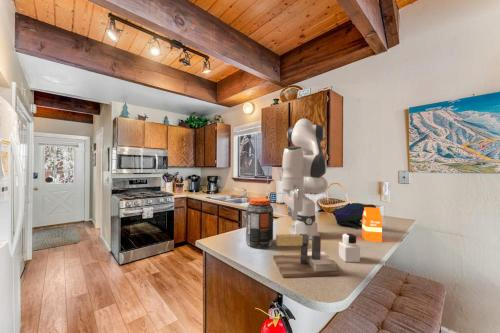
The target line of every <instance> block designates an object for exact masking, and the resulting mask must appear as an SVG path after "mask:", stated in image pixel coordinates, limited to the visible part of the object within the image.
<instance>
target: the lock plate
mask: <svg viewBox="0 0 500 333" xmlns="http://www.w3.org/2000/svg"><path fill="white" fill-rule="evenodd" d="M321 238H322V237H321V235H320V236H319V235H312V239H311V248H309V247H308V246H309V245H308V246H303V245H300V254H281V255H280V254H278V255H273V257H272V258H273V261H274V262H275V264H276V267H277V269H278V271H279V273H280V275H281V277H282V278H286V279H287V278H308V277H311V278H312V277H313V278H314V277H331V276H332V277H333V276H339V277H340V275H341V274H340V271H339V270H338V262H336V261H335V260H334V259H333V258H331V256H329V255H328V254H327V253H326V252H325V251H324V250H323V249H321V242H322V241H321Z"/></svg>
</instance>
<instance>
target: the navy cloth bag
mask: <svg viewBox="0 0 500 333" xmlns="http://www.w3.org/2000/svg"><path fill="white" fill-rule="evenodd" d="M365 207H370V208H377V206H376V205H374V204H373V203H372V204H363V203H359V202H352V203H350V202H348V203H347V204H345V205H344V206H342V207H339V208H336V209H334V210H332V215H333V216H334V218H335V222H336V224H337V225H346V226H350V227H352V228H355V229H356V230H359V228H362V224H363V212H364V208H365Z"/></svg>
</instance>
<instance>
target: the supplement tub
mask: <svg viewBox="0 0 500 333" xmlns="http://www.w3.org/2000/svg"><path fill="white" fill-rule="evenodd" d="M271 201H272V200H271V199H270V198H267V197H253V198H252V197H251V198H249V199H248V205H247V206H246V208H245V243H246V245H247V246H249V247H251V248H255V249H265V248H269V247H271V246H272V245H273V243H274V208H273V206H272V205H271V204H272V203H271Z"/></svg>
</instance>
